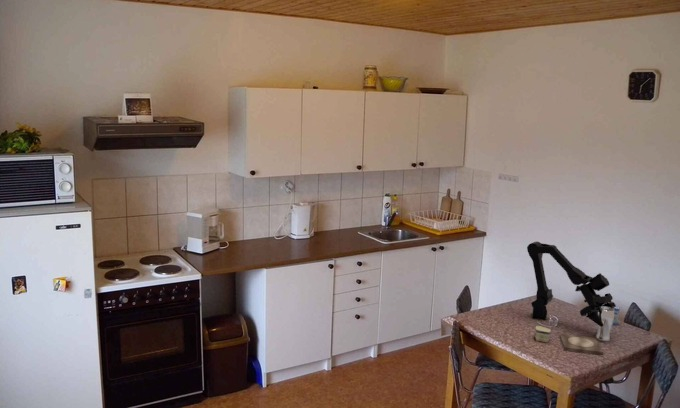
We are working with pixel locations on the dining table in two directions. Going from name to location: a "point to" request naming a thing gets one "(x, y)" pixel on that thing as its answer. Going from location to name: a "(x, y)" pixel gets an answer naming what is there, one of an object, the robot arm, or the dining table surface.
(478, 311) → the dining table surface
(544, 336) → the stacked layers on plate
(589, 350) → the walnut board
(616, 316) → the medicine box
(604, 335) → the beer glass
